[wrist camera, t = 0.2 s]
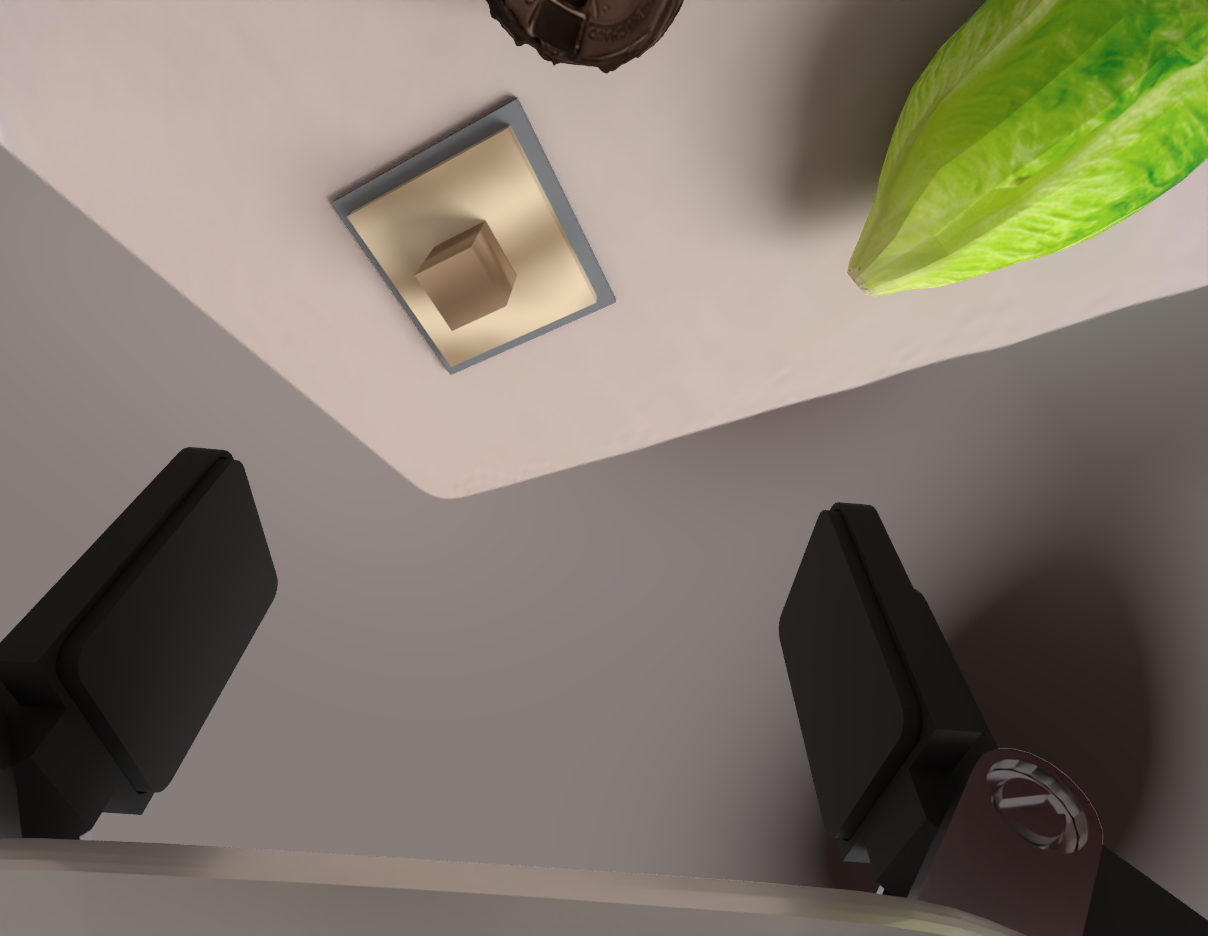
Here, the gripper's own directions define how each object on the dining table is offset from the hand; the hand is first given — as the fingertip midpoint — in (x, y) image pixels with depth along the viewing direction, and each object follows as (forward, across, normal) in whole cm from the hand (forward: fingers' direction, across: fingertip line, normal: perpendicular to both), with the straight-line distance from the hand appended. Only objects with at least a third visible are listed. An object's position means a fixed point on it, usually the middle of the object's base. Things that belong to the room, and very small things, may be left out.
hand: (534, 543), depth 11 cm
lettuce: (+37, -22, -2) cm, 43 cm away
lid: (+36, +8, +8) cm, 38 cm away
